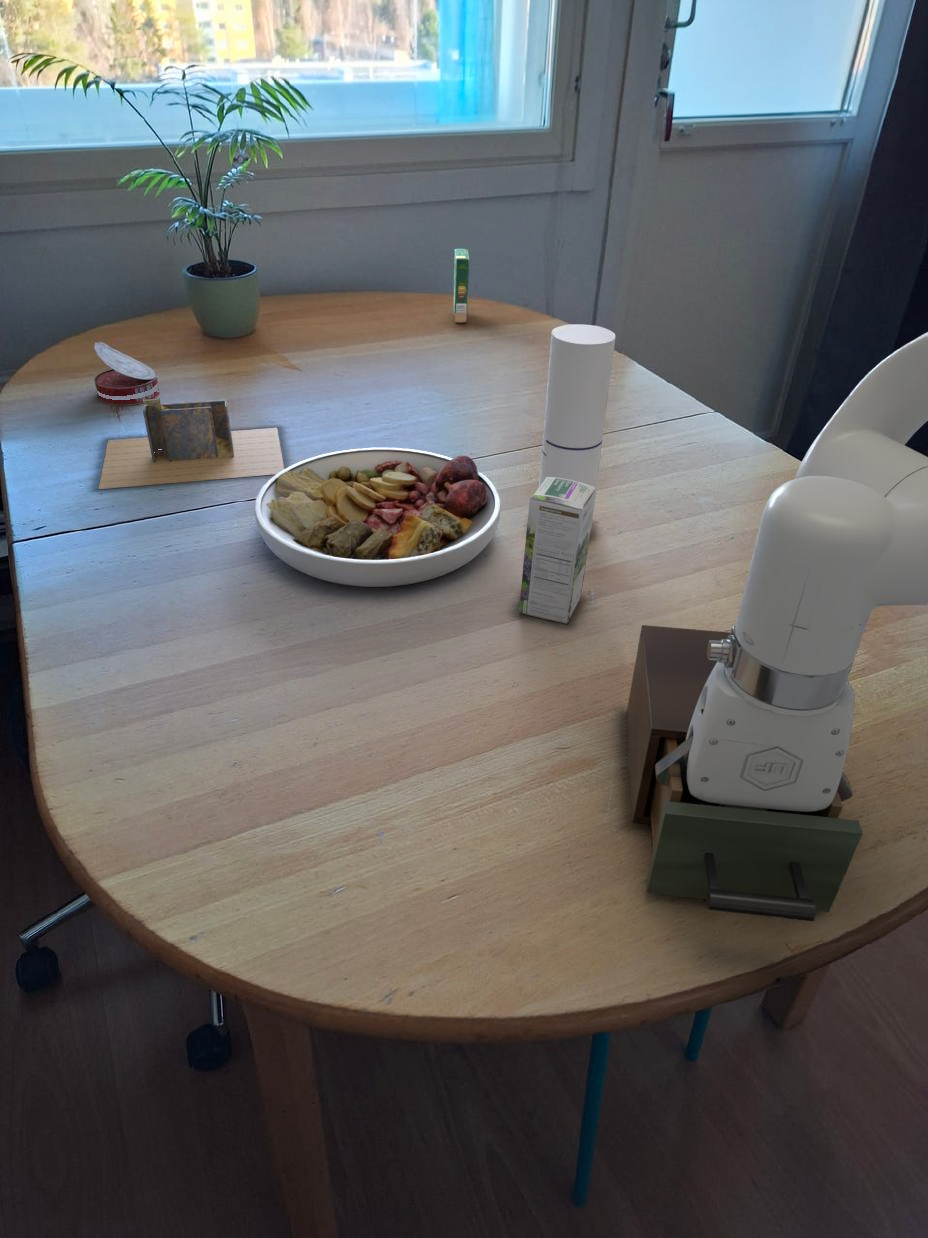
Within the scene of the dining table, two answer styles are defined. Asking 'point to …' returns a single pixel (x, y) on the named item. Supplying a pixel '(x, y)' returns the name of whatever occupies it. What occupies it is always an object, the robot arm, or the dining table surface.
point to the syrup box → (556, 548)
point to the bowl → (378, 515)
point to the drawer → (747, 853)
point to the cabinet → (663, 699)
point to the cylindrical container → (576, 402)
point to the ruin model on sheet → (189, 448)
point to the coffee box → (461, 280)
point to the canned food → (123, 377)
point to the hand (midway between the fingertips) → (733, 844)
